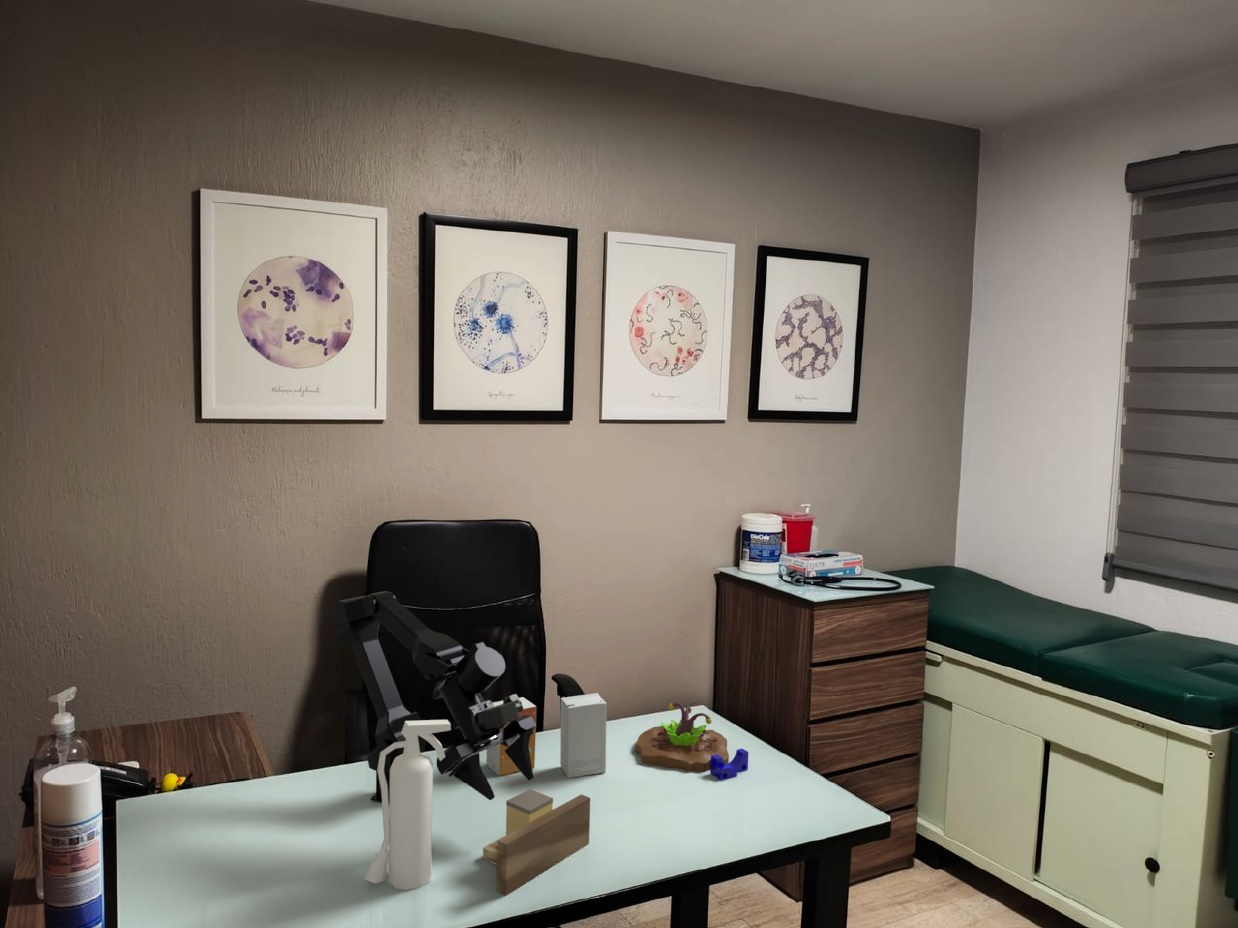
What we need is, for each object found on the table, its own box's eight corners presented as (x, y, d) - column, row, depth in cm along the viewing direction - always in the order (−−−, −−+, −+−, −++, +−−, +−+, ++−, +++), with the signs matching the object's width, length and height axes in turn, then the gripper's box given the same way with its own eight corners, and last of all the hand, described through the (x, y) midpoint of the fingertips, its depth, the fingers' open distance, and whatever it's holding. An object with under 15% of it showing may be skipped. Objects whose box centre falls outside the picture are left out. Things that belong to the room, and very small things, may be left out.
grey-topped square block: (505, 860, 141) (506, 800, 141) (528, 846, 146) (530, 788, 145) (528, 871, 138) (529, 810, 138) (551, 856, 143) (553, 798, 142)
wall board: (458, 871, 138) (459, 822, 137) (543, 824, 154) (544, 780, 153) (505, 895, 131) (506, 844, 131) (589, 843, 147) (590, 797, 147)
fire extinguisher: (359, 874, 136) (366, 719, 133) (436, 861, 141) (444, 711, 139) (366, 898, 129) (374, 736, 127) (446, 883, 135) (456, 727, 133)
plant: (639, 732, 198) (640, 684, 197) (726, 738, 196) (728, 689, 195) (632, 770, 178) (634, 716, 177) (729, 776, 176) (731, 722, 175)
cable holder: (720, 781, 173) (721, 762, 173) (710, 774, 176) (710, 755, 176) (752, 773, 177) (753, 754, 177) (741, 767, 180) (742, 748, 180)
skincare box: (597, 761, 180) (599, 691, 179) (606, 774, 174) (608, 701, 173) (557, 766, 177) (559, 695, 176) (566, 779, 172) (568, 705, 170)
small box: (499, 777, 172) (500, 712, 171) (485, 765, 177) (486, 702, 176) (535, 768, 176) (537, 705, 175) (521, 756, 181) (522, 695, 180)
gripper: (450, 696, 138) (498, 785, 132) (530, 669, 153) (576, 747, 147) (416, 731, 143) (460, 818, 138) (497, 701, 158) (540, 778, 152)
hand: (512, 788), depth 144 cm, fingers open, 9 cm apart
